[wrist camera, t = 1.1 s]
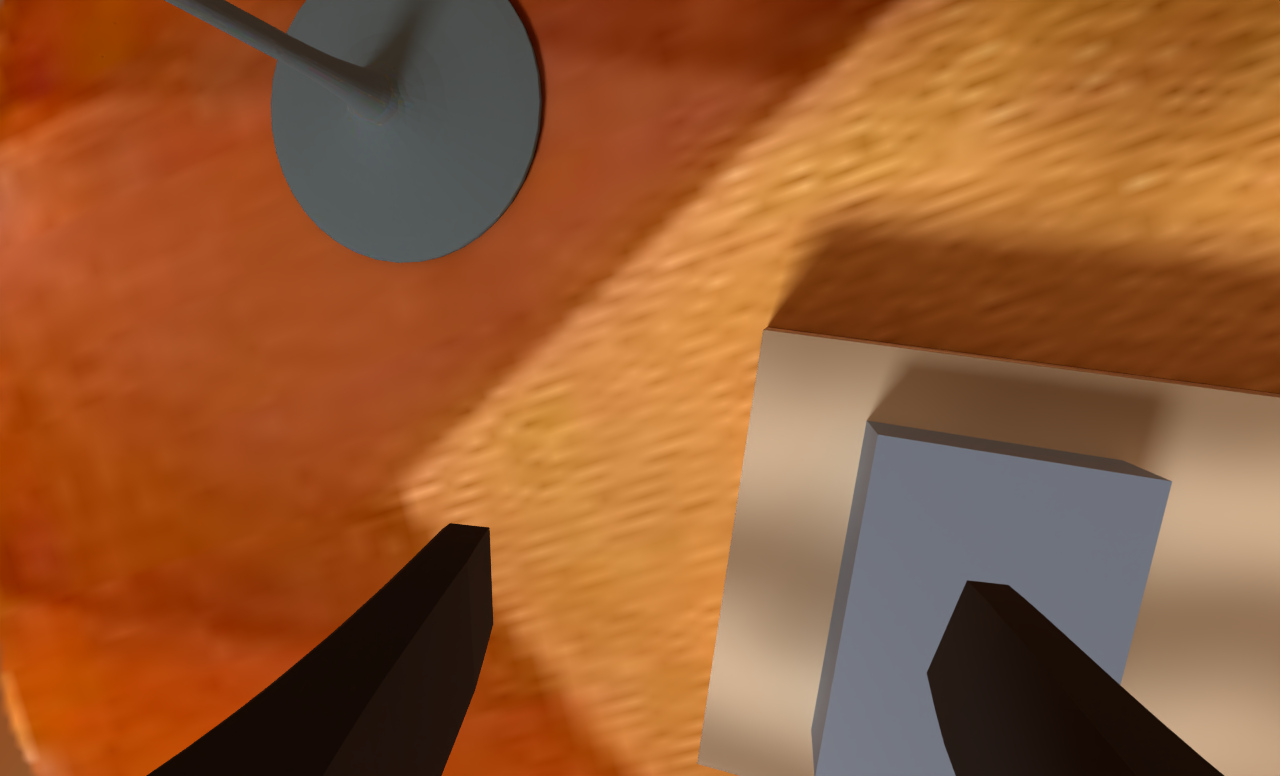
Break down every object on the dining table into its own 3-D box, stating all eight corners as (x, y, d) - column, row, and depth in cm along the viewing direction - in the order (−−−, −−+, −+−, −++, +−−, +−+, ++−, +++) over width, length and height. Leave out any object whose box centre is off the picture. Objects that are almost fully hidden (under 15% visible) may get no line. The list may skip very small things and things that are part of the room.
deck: (1226, 815, 19) (1337, 941, 15) (712, 686, 23) (696, 763, 19) (1346, 402, 17) (1508, 427, 14) (767, 327, 21) (763, 329, 17)
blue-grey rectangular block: (1043, 788, 17) (1078, 852, 15) (811, 729, 18) (814, 780, 16) (1122, 460, 15) (1172, 481, 13) (866, 420, 16) (877, 434, 15)
